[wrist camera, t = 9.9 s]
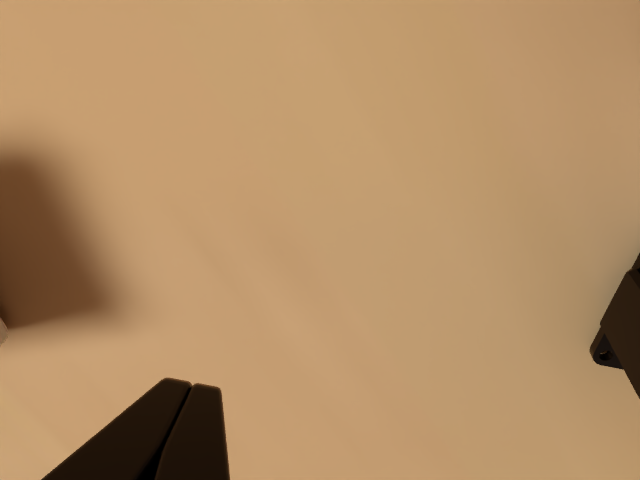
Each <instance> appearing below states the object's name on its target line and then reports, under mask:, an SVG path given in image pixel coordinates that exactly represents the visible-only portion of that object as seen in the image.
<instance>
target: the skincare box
mask: <svg viewBox="0 0 640 480" xmlns="http://www.w3.org/2000/svg"><path fill="white" fill-rule="evenodd" d="M7 338H8V329H7V327H6V325H5V324H4V322H3V321H2V319H1V318H0V346H1V345H2V344H3V342H4V341H5V340H6V339H7Z"/></svg>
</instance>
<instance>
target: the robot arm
mask: <svg viewBox="0 0 640 480" xmlns="http://www.w3.org/2000/svg"><path fill="white" fill-rule="evenodd" d="M600 325H601V328H600V330H599V331H598V333H597V335H596V337H595V339H594V341H593V343H592V345H591V347H590V354H591V356H592V358H593V360H594V361H595V362H596V363H597V364H599V365H603V366H608V367H613V368H619V369H624V371H625V373H626V374H627V376H628V378H629V380H630V382H631V384H632V386H633V388H634V390H635V391H636V393H637V395H638V397H639V399H640V253H639V255H638V257H637V259H636V261H635V263H634V265H633V267H632V268H631V269H630V270H629V271H627V272H626V274H625V276H624V278H623V280H622V281H621V283H620V285H619V287H618V289H617V291H616V293H615V295H614V297H613V299H612V301H611V303H610V304H609V306H608V308H607V310H606V312H605V314H604V316H603V318H602V320H601V322H600ZM603 351H608V352H607V353H605V354H601V353H602V352H603ZM41 480H230V474H229V463H228V453H227V443H226V433H225V423H224V413H223V403H222V393H221V390H220V388H219V387H215V386H210V385H204V384H199V383H196V384H194V385H193V386H192V384H191V383H190V382H188V381H184V380H178V379H173V378H164V379H162V380H161V381H160V382H159V383H157V384H156V385H155V386H154V387H152V388H151V389H150V390H149V391H148V392H146V393H145V394H144V395H143V396H142V397H140V398H139V399H138V400H137V401H136V402H134V403H133V404H132V405H131V406H130V407H128V408H127V409H126V410H125V411H123V412H122V413H121V414H120V415H119V416H117V417H116V418H115V419H114V420H113V421H111V422H110V423H109V424H108V425H107V426H105V427H104V428H103V429H102V430H101V431H99V432H98V433H97V434H96V435H94V436H93V437H92V438H91V439H90V440H88V441H87V442H86V443H85V444H84V445H82V446H81V447H80V448H79V449H78V450H76V451H75V452H74V453H73V454H72V455H70V456H69V457H68V458H67V459H65V460H64V461H63V462H62V463H61V464H59V465H58V466H57V467H56V468H55V469H53V470H52V471H51V472H50V473H49V474H47V475H46V476H45V477H44V478H43V479H41Z"/></svg>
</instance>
